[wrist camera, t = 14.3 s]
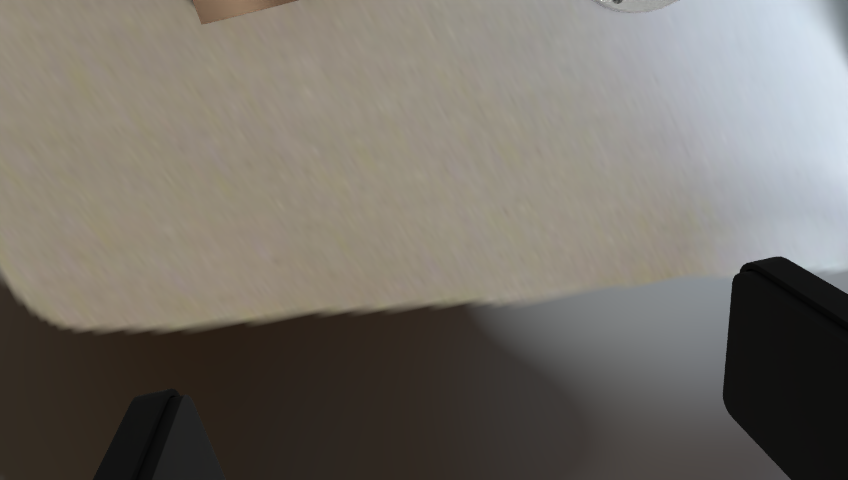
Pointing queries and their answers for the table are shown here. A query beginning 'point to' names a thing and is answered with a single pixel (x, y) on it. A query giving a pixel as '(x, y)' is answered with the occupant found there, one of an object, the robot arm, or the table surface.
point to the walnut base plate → (231, 8)
